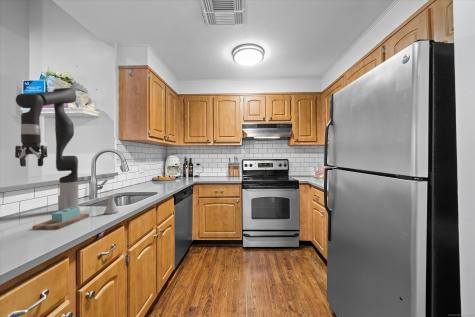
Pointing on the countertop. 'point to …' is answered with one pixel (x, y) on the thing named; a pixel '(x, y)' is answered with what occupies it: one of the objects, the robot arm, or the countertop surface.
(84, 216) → the jig
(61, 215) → the teal slotted block
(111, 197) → the flask
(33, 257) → the countertop surface
